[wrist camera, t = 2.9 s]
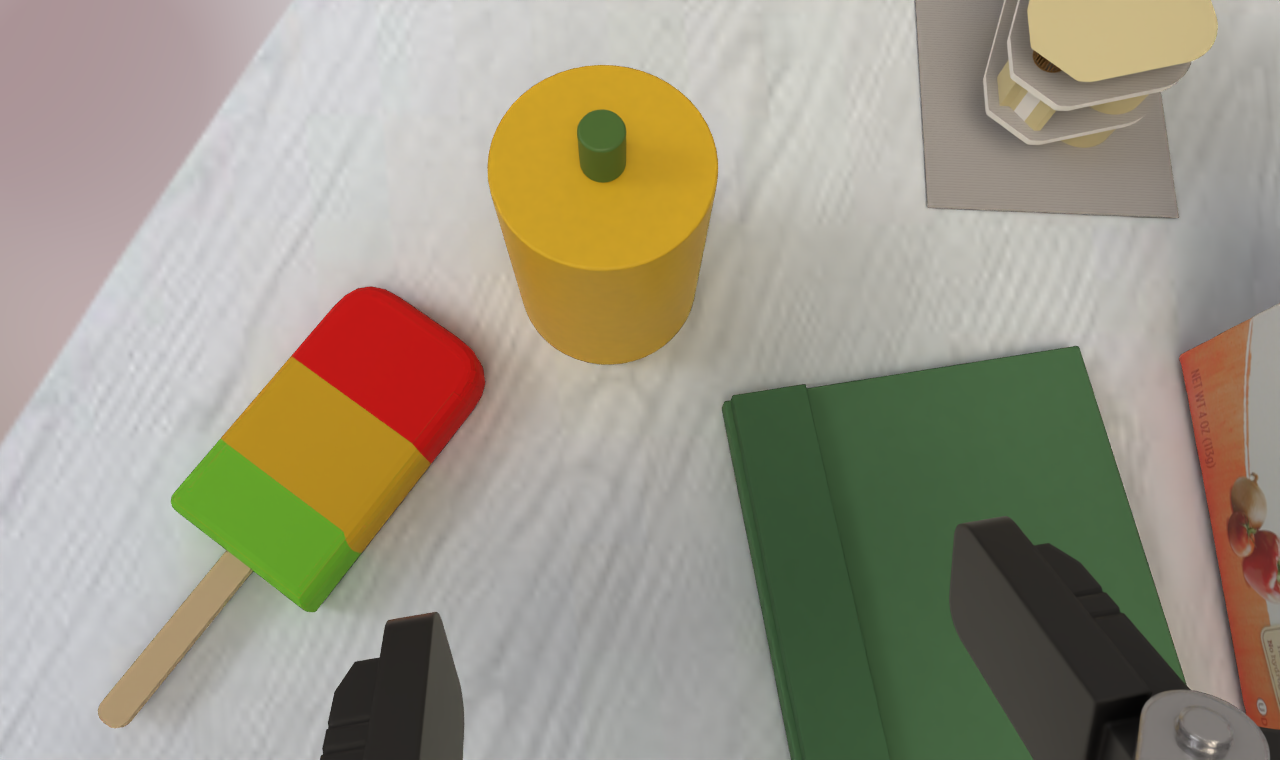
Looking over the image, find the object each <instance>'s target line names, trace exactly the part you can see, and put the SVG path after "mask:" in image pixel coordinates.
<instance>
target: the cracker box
mask: <svg viewBox="0 0 1280 760" xmlns="http://www.w3.org/2000/svg"><path fill="white" fill-rule="evenodd" d="M1179 360H1180V363H1181V365H1182V371H1183V377H1184V381H1185V386H1186V391H1187V394H1188V402H1189V407H1190V412H1191V417H1192V423H1193V429H1194V435H1195V441H1196V446H1197V451H1198V456H1199V460H1200V465H1201V470H1202V476H1203V482H1204V487H1205V493H1206V499H1207V504H1208V509H1209V514H1210V520H1211V526H1212V531H1213V536H1214V542H1215V547H1216V554H1217V559H1218V564H1219V570H1220V574H1221V580H1222V587H1223V592H1224V597H1225V602H1226V608H1227V613H1228V619H1229V624H1230V630H1231V635H1232V641H1233V646H1234V652H1235V657H1236V663H1237V668H1238V674H1239V679H1240V685H1241V691H1242V696H1243V702H1244V706H1245V710H1246V715H1247V716H1248V717H1250V718H1251V719H1252V720H1253V721H1254V722H1255V723H1256V725H1257V726H1259V727H1264V728H1271V729H1279V730H1280V303H1279V304H1277V305H1275V306H1273V307H1271V308H1269V309H1267V310H1265V311H1263V312H1261V313H1259V314H1257V315H1255V316H1254V317H1252V318H1250V319H1249V320H1247V321H1245V322H1243V323H1240V324H1238V325H1236V326H1234V327H1232V328H1230V329H1229V330H1227V331H1225V332H1223V333H1221V334H1219V335H1217V336H1216V337H1214V338H1212V339H1210V340H1208V341H1206V342H1204V343H1202V344H1200V345H1198V346H1196V347H1195V348H1193V349H1190V350H1188V351H1187V352H1185V353H1183V354H1181V355H1180V357H1179Z"/></svg>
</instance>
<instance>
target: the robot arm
mask: <svg viewBox="0 0 1280 760" xmlns="http://www.w3.org/2000/svg"><path fill="white" fill-rule="evenodd" d="M949 605H950V612H951V616H952V620H953V624H954V627H955V629H956V632H957V634H958V636H959V638H960V640H961V641H962V643H963V645H964V646H965V648H966V650H967V651H968V653H969V655H970V656H971V658H972V659H973V661H974V663H975V664H976V666H977V668H978V669H979V671H980V673H981V674H982V676H983V678H984V679H985V681H986V682H987V684H988V686H989V687H990V689H991V691H992V692H993V694H994V696H995V697H996V699H997V700H998V702H999V704H1000V705H1001V707H1002V709H1003V710H1004V712H1005V714H1006V715H1007V717H1008V718H1009V720H1010V722H1011V723H1012V725H1013V727H1014V728H1015V730H1016V732H1017V733H1018V735H1019V737H1020V738H1021V740H1022V741H1023V743H1024V745H1025V746H1026V748H1027V750H1028V751H1029V753H1030V755H1031V756H1032V758H1033V759H1034V760H1280V730H1279V729H1271V728H1264V727H1259V726H1257V725H1256V723H1255V722H1254V721H1253V720H1252V719H1251V718H1250V717H1248V716H1247V715H1246V714H1245V713H1244V712H1242V711H1241V710H1240V709H1238V708H1237V707H1235V706H1233V705H1232V704H1230V703H1228V702H1226V701H1224V700H1222V699H1220V698H1217V697H1215V696H1212V695H1209V694H1206V693H1202V692H1197V691H1191V690H1190V689H1189V688H1188V687H1187V685H1186V684H1185V683H1184V682H1183V681H1182V680H1181V678H1180V677H1179V676H1178V675H1177V674H1176V673H1175V672H1174V670H1173V669H1172V668H1171V667H1170V666H1169V665H1168V663H1167V662H1166V661H1165V660H1164V659H1163V658H1162V656H1161V655H1160V654H1159V653H1158V652H1157V651H1156V649H1155V648H1154V647H1153V646H1152V645H1151V644H1150V642H1149V641H1148V640H1147V639H1146V638H1145V637H1144V636H1143V634H1142V633H1141V632H1140V631H1139V630H1138V629H1137V627H1136V626H1135V625H1134V624H1133V623H1132V622H1131V620H1130V619H1129V618H1128V617H1127V616H1126V615H1125V613H1121V612H1120V608H1119V606H1118V605H1117V604H1116V603H1115V602H1114V601H1113V599H1112V598H1111V597H1110V596H1109V595H1108V594H1107V593H1106V592H1105V593H1104V592H1103V591H1102V587H1101V586H1100V584H1099V583H1098V582H1097V581H1096V580H1095V579H1094V577H1093V576H1092V575H1091V574H1090V573H1089V572H1088V570H1087V569H1086V568H1085V567H1084V566H1083V565H1082V563H1081V562H1079V561H1077V560H1076V559H1074V558H1073V557H1071V556H1069V555H1068V554H1066V553H1064V552H1063V551H1061V550H1060V549H1058V548H1056V547H1055V546H1053V545H1052V544H1050V543H1045V544H1039V545H1033V544H1032V542H1031V541H1030V540H1029V539H1028V537H1027V536H1026V535H1025V534H1024V533H1023V531H1022V530H1021V529H1020V528H1019V526H1018V525H1017V524H1016V523H1015V522H1014V521H1013V520H1012V519H1011V518H1010V517H1007V516H1002V517H996V518H990V519H984V520H978V521H973V522H967V523H961V524H958V525H957V527H956V529H955V532H954V542H953V554H952V567H951V580H950V592H949ZM328 726H329V727H328V729H327V730H326V734H325V739H324V744H323V748H322V749H323V755H321V758H320V760H463V741H464V707H463V698H462V692H461V686H460V682H459V678H458V675H457V671H456V668H455V664H454V661H453V657H452V654H451V650H450V647H449V643H448V640H447V636H446V633H445V630H444V626H443V623H442V619H441V617H440V615H439V613H438V612H432V613H427V614H421V615H415V616H409V617H403V618H397V619H392V620H388V621H387V623H386V625H385V629H384V635H383V641H382V647H381V653H380V658H374V659H368V660H363V661H357V662H354V664H353V665H352V667H351V668H350V670H349V671H348V673H347V674H346V676H345V677H344V679H343V680H342V682H341V683H340V685H339V686H338V688H337V689H336V691H335V693H334V697H333V702H332V707H331V711H330V716H329V721H328Z"/></svg>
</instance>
